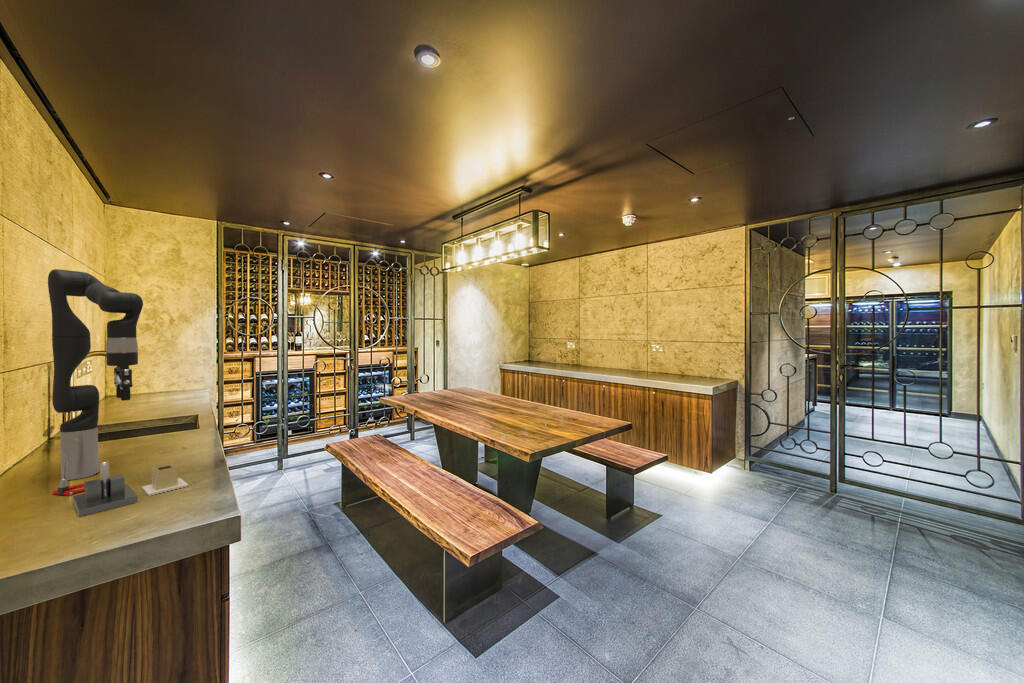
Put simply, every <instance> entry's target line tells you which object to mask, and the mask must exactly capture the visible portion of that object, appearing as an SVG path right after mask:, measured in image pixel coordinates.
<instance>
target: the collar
mask: <svg viewBox="0 0 1024 683" xmlns="http://www.w3.org/2000/svg"><path fill="white" fill-rule="evenodd" d="M178 476H179V475H178V466H176V464H173V463H171V464H167V465H166V464H165V465H162V466H156V467H152V468H151V484H152V487H153V488H154V489H155V490H158V489H162V488H167V487H171V486H175V485H178V478H179V477H178Z"/></svg>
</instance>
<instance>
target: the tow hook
mask: <svg viewBox="0 0 1024 683" xmlns="http://www.w3.org/2000/svg"><path fill="white" fill-rule="evenodd" d="M68 481H69V480H68V478H67V455H63V462H62V472H61V471H60V479H59V487H57V489H54V490H52V494H51V495H58V496H63V495H65V496H70V497H71V496H72V497H73V496H74V495H76V494H78V493H80V494H81V493H83V492H84V491H85V487H82V486H85V484H84V483H79V484H78V483H77V484H73V485H69V486H68V484H69V483H68ZM78 487H79V488H78ZM84 493H85V492H84Z"/></svg>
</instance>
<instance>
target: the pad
mask: <svg viewBox="0 0 1024 683" xmlns="http://www.w3.org/2000/svg"><path fill="white" fill-rule="evenodd" d="M187 486H188V487H189V484H188V483H187V482H186V481H184V480H183V479H182V478H181V477H178V485H175V486H171V487H167V488H162V489H158V490H155V489H154V488H153V487H152V483H151V484H146V485H143V486H141V490H142V489H143V490H144V491H145V492H144V491H143V490H142V491H143V492H144V493H145V494H147V495H148V496H149V497H152V496H151V495H153V496H156V495H155V494H157V495H160V494H159V493H161V494H164V493H163V492H165V493H168V492H167V491H169V492H172V491H171V490H173V491H176V490H175V489H177V490H180V489H179V488H181V489H184V488H183V487H185V488H188V487H187ZM147 495H146V496H147ZM148 496H147V497H148Z"/></svg>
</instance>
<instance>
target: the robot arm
mask: <svg viewBox="0 0 1024 683" xmlns="http://www.w3.org/2000/svg"><path fill="white" fill-rule="evenodd" d="M47 289H48V290H47V291H48V295H49V303H50V309H51V310H50V311H51V342H52V343H51V344H52V358H53V381H52V382H53V383H52V395H51V396H52V406H53V409H54V411H55V412H56V413H58V414H64V413H71V412H72V413H73V412H80V413H79V415H76V416H75V417H73V418H72V419H71V418H70V419H68V420H66V421H64V422H61V424H60V425H59V436H60V437H59V438H60V439H59V440H60V442H59V443H60V444H59V445H60V473H61V472H62V462H63V455H67V478H68V481H72V480H79V479H80V480H81V479H85V478H89V477H92V476H95V475H97V474H98V472H99V473H100V462H99V461H100V460H99V431H98V430H99V429H98V428H99V425H98V424H99V410H100V409H99V408H100V392H99V388H98V387H97V386H96V385H94V384H85V385H83V384H82V385H72V386H70V385H71V380H72V376H73V374H74V373H75V371H76V370H77V368H78V367H79V365H80V364H82V362H83V361H84V360H85V359H86V357H88V355H89V354H90V352H91V349H92V348H91V347H92V344H91V341H92V340H91V332H90V330H89V328H88V327H87V326H86V325H85V323H84V322H83V321H82V320H81V319H80V318H79V316H77V315H76V313H74V312H73V309H72V308H71V307H70V305H69V302H68V297H77V298H78V297H81V298H82V297H84V298H85V297H86V298H87V300H88V301H90V302H91V303H93V304H96V305H97V306H98V307H99V309H100V310H101V311H102V312H104V313H105V312H106V313H109V314H110V313H111V314H125V315H124V316H123V317H122V318H121V319H114V320H109V321H108V322H107V324H106V337H107V338H106V343H105V345H106V346H105V349H106V350H105V353H106V356H105V358H106V366H107V367H108V366H109V367H114V368H113V384H114V387H115V393H116V394H115V395H116V398H118V399H120V400H121V401H123V402H124V401H125V402H126V401H129V400H131V389H132V387H133V377H132V376H133V370H132V368H130V366H135V365H138V364H139V353H138V352H139V348H138V347H139V346H138V339H137V325H138V321H139V318H140V315H141V313H142V310H143V307H144V300H143V298H142V297H141V296H140V295H139V294H137V293H135V292H134V293H133V292H121V291H119V290H117V289H116V288H114V287H112V286H109V285H106V284H104V283H103V282H101V281H100V280H99V279H98V278H97V277H96V276H94V275H92V274H90V273H88V272H85V271H77V270H76V271H75V270H69V269H68V270H67V269H56V268H55V269H52V270H51V271H49V273H48V276H47ZM67 296H68V297H67ZM96 473H97V474H96ZM94 474H95V475H94Z"/></svg>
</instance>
